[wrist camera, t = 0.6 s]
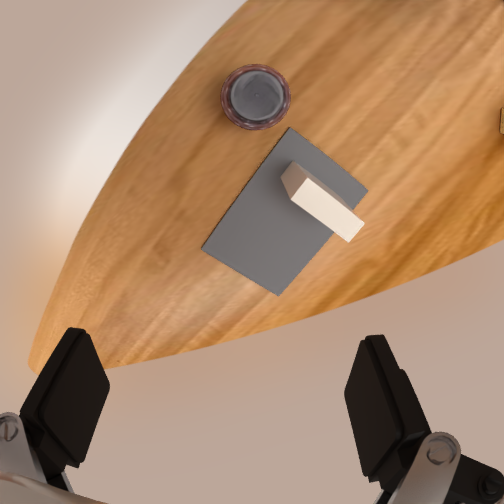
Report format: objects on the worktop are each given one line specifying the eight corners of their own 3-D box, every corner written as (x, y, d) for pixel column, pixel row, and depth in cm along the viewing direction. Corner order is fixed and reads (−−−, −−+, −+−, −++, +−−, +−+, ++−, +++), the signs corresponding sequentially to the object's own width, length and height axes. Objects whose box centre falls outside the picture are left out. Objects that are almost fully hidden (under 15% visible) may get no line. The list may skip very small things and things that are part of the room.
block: (293, 160, 34) (307, 177, 26) (339, 196, 36) (364, 223, 27) (280, 177, 35) (290, 199, 27) (326, 211, 36) (348, 243, 28)
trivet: (289, 127, 33) (290, 127, 32) (367, 189, 36) (368, 190, 35) (201, 247, 39) (201, 249, 38) (278, 294, 42) (278, 296, 42)
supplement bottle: (217, 113, 32) (202, 114, 22) (239, 65, 29) (235, 46, 19) (267, 134, 33) (275, 145, 23) (289, 87, 31) (309, 78, 20)
